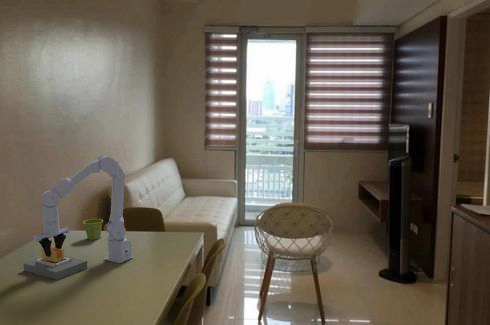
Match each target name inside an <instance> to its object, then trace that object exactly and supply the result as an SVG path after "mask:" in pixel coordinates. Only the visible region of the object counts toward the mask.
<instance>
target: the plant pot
mask: <svg viewBox="0 0 490 325" xmlns="http://www.w3.org/2000/svg"><path fill="white" fill-rule="evenodd" d="M103 222H104V220H103V219H101V218H91V219H86V220H84V221H83V222H82V225H84V228H85V229H84V230H85V233H86V237H87V240H89V241H95V240H100V239H101V236H102V227H103Z"/></svg>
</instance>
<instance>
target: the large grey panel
mask: <svg viewBox="0 0 490 325" xmlns="http://www.w3.org/2000/svg"><path fill="white" fill-rule="evenodd" d="M86 269H88V261H87V260H84V259H81V258H76V257H72V256H68V255H64V259H63V260H60V261H58V262H52V261H48V260H44V259H42V257H39V258H36V259H33V260H30V261H27V262H24V263H23V271H24V272H26V273H30V274H35V275H38V276H41V277H45V278H48V279H52V280H55V281H58V280H61V279H63V278H66V277H68V276H71V275H73V274H76V273H79V272H81V271H84V270H86Z"/></svg>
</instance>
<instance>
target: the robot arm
mask: <svg viewBox="0 0 490 325" xmlns="http://www.w3.org/2000/svg"><path fill="white" fill-rule="evenodd" d="M102 171H103V172H104V173H106V174H107V175H108V176H109V177H110V178H111V179H112V180H111V195H110V196H111V198H110V199H111V201H110V215H109V220H108V223H107V225H106V232H107V233H108V236H107V257H105V258H103V260H104V261H108V262H113V263H116V264H117V263H118V264H121V263H124V262H126V261H128V260H131V259H133V258H134V256H133V254H132V242H131V241H130V240H129V239H127V238H126V234H127V230H126V228H125V220H124V215H123V214H124V199H125V173H124V171H123V169H122V167H121V165H120V164H119V162H118V161H117V160H116V159H115V158H113V157H111V156H109V155H107V154H102V155H99V157H97V158H95V159H93V160H92V161H91V162H89V163H87V165H85V166H84V167H82V168H81V169H80V170H78V171H77V172H76V173H75V174H74V175H73V176H71V177H64V178H60V179H59V180H58V181H59V182H58V183H56V184H55V185H54V186H53V187H49V188H48V190H46V191H44V192H43V193H42V195H41V197H40V200H41V202H42V224H43V232H41V233H39V234H37V235H34V236H33V242H36V243H39V245H40V246H41V248H42V249H44V252H45V255H46V256H47V257H51V247H52V242H54V245H55V246H54V247H55V248H59V249H63V244H64V242H65V240H66V238H67V236H66V234H69V233H70V227H62V228H60V217H59V207H58V203H59V200H62V199H64V198H65V197H66V196H68V195H69V194H70V193H71V192H73V191H74V190H75V189H76V185H77V184H78V183H81V181H83V180H84V179H86V178H87V177H89V176H90V175H92V174H95V173H101V172H102ZM49 238H53V241H52V239H51V240H50V239H49Z"/></svg>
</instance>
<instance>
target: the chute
mask: <svg viewBox="0 0 490 325" xmlns="http://www.w3.org/2000/svg"><path fill="white" fill-rule="evenodd" d="M64 252H65V251H64V248H62V249H59V248H55V246H51V257H47V256H46V255H45V252H44V249H43V248H42V249H41V258H42V259H44V260H48V261H52V262H58V261H60V260H63V259H64V256H65V253H64Z"/></svg>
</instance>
